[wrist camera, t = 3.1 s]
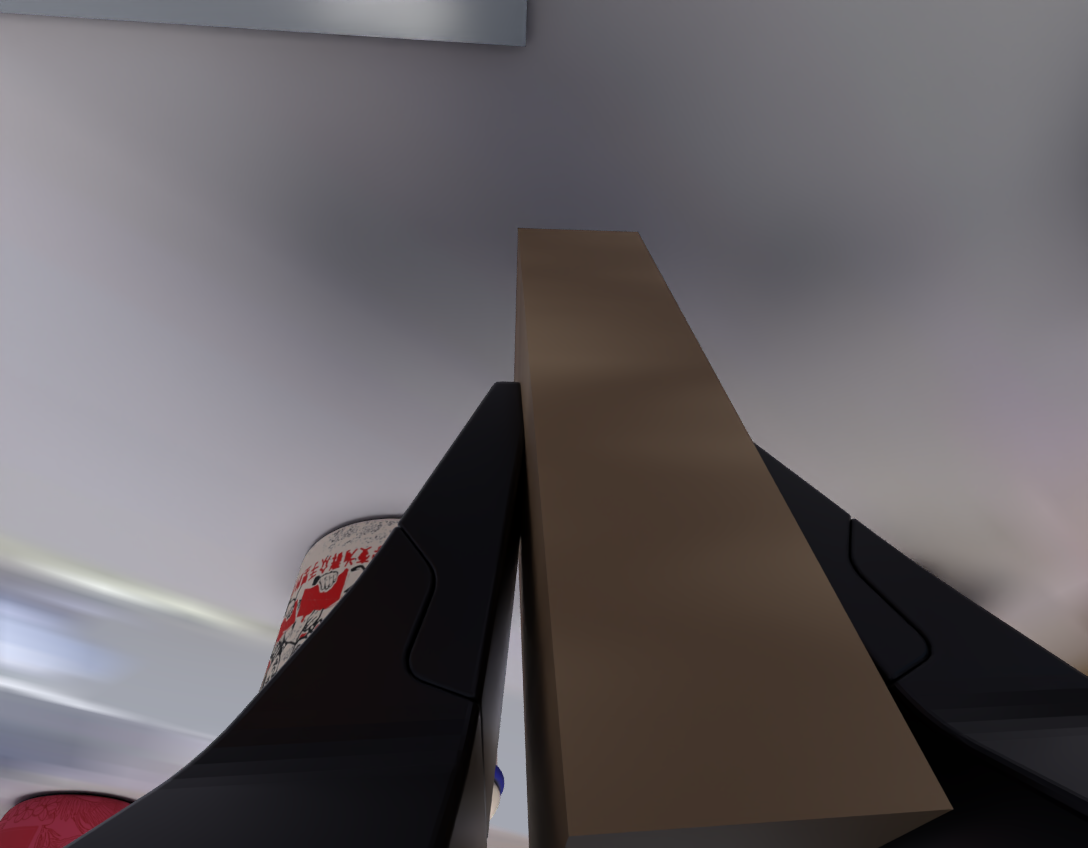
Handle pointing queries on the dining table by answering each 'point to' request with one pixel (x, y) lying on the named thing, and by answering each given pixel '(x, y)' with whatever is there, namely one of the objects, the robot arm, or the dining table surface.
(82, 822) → the wine bottle
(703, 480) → the beveled wooden wedge block
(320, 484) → the dining table surface
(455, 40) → the slate board
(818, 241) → the dining table surface
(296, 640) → the teacup with lid
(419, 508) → the robot arm
